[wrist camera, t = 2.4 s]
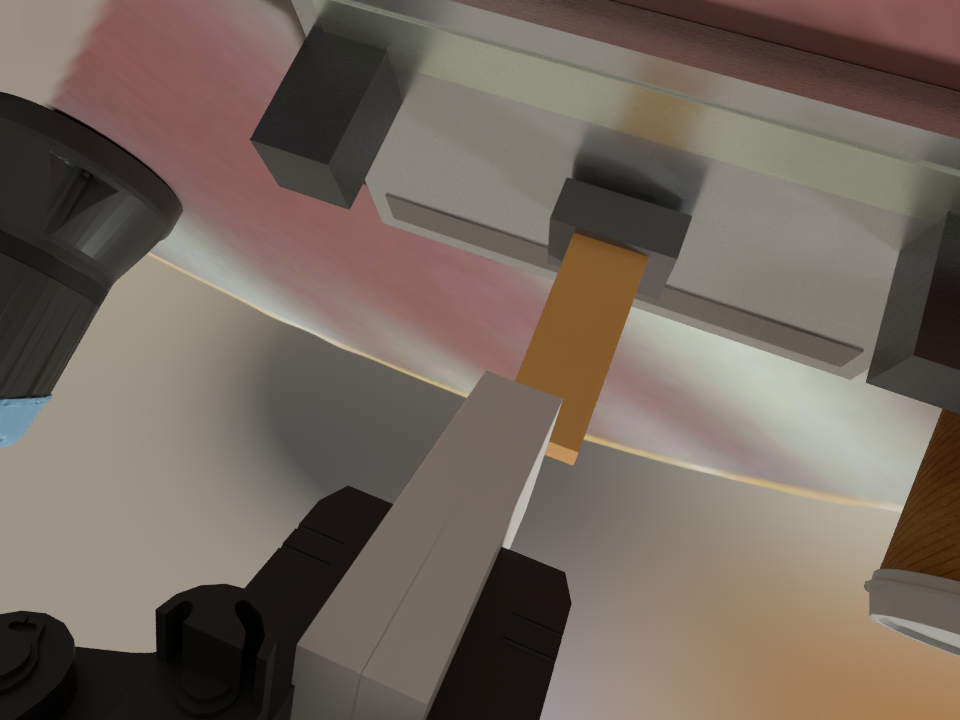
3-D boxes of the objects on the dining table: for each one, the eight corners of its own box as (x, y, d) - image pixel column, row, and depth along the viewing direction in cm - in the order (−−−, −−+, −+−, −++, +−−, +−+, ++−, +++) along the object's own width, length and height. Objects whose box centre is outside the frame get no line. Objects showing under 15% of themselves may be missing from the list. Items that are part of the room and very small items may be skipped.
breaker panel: (393, 200, 40) (345, 300, 38) (291, -83, 23) (197, 75, 21) (857, 353, 36) (825, 472, 34) (1162, 144, 18) (1128, 366, 17)
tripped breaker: (561, 226, 31) (479, 431, 29) (566, 177, 27) (471, 409, 25) (671, 261, 30) (596, 476, 28) (692, 216, 26) (607, 460, 24)
